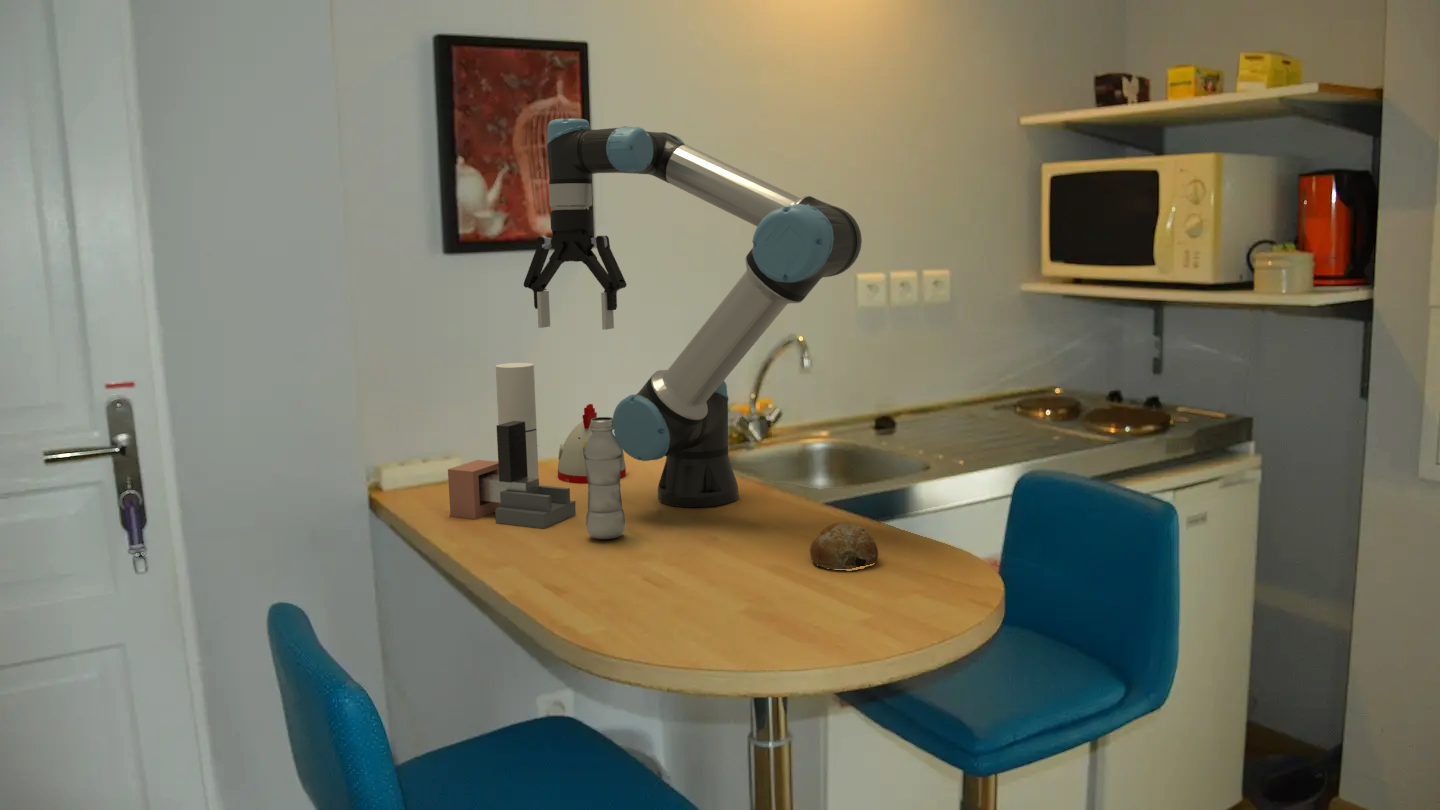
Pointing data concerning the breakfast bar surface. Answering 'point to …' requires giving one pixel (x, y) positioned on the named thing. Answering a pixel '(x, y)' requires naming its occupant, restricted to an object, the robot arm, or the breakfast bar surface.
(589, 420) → the kitchen timer
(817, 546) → the bread roll
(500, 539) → the breakfast bar surface
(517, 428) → the black and grey block
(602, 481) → the plastic bottle
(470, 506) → the socket block
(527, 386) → the cylindrical container
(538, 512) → the grey stepped base
